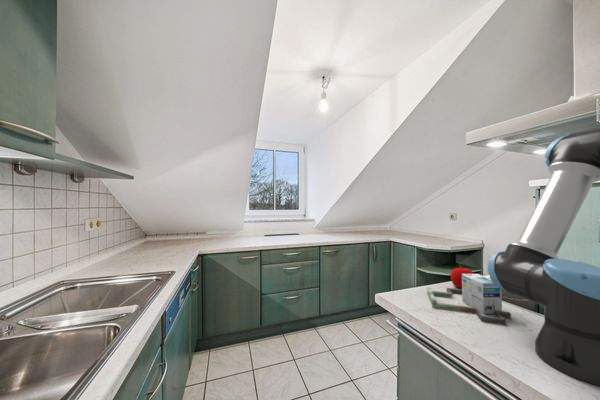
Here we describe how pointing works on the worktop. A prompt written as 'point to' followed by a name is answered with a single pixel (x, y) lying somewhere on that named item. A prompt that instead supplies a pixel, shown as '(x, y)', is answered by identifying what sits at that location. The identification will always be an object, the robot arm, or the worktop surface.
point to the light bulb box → (481, 293)
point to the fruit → (459, 276)
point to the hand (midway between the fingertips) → (516, 287)
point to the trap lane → (465, 307)
